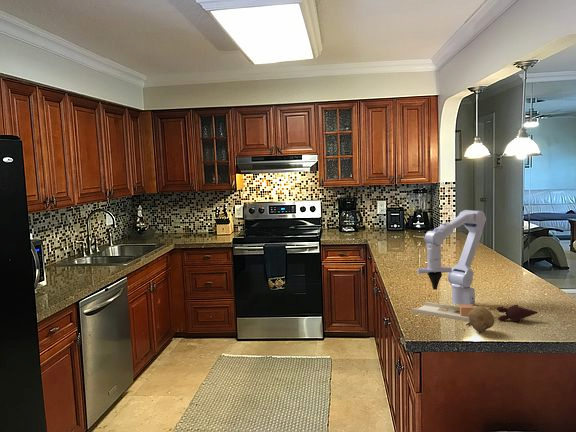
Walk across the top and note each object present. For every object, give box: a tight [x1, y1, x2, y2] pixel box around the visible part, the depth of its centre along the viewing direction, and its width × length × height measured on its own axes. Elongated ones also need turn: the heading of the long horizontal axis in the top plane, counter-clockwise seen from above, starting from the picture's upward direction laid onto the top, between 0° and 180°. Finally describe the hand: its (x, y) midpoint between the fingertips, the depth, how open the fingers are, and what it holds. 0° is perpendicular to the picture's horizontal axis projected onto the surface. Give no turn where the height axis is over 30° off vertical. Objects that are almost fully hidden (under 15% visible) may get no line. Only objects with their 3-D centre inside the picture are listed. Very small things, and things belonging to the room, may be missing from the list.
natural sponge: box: [469, 305, 495, 333], centre depth 183 cm, size 9×9×10 cm
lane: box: [411, 301, 472, 327], centre depth 204 cm, size 26×13×4 cm, turn 49°
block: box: [459, 304, 475, 317], centre depth 198 cm, size 5×5×4 cm
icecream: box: [496, 304, 539, 323], centre depth 194 cm, size 7×7×15 cm
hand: (434, 289), depth 211 cm, fingers closed
